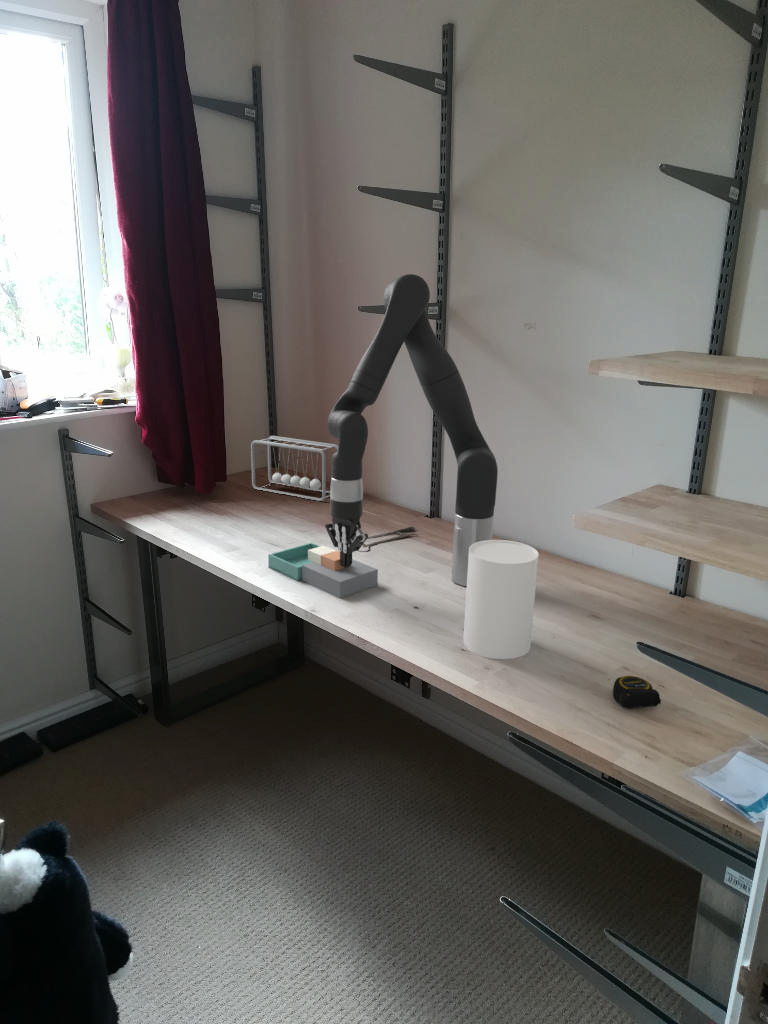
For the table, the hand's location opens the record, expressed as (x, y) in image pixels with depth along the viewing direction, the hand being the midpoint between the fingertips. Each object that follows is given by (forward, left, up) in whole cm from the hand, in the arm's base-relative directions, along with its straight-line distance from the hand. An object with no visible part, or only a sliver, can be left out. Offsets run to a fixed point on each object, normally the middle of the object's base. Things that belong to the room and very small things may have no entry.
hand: (345, 566), depth 177 cm
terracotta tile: (+4, -2, -1) cm, 4 cm away
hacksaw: (+4, -35, -6) cm, 36 cm away
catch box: (+15, -6, -5) cm, 17 cm away
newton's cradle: (+52, -66, -5) cm, 84 cm away
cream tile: (+8, -4, -1) cm, 9 cm away
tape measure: (-69, +24, -6) cm, 74 cm away
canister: (-41, +13, -5) cm, 43 cm away
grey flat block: (+2, -1, -5) cm, 6 cm away
